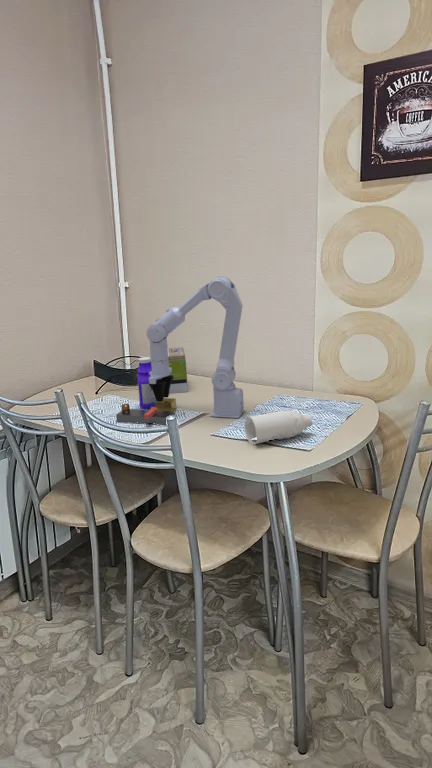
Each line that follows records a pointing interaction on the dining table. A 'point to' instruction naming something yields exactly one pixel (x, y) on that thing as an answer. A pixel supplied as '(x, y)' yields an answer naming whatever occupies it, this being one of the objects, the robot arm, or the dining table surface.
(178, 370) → the tea box
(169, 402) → the tan rectangular block
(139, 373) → the bottle
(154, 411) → the lever
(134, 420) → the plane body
